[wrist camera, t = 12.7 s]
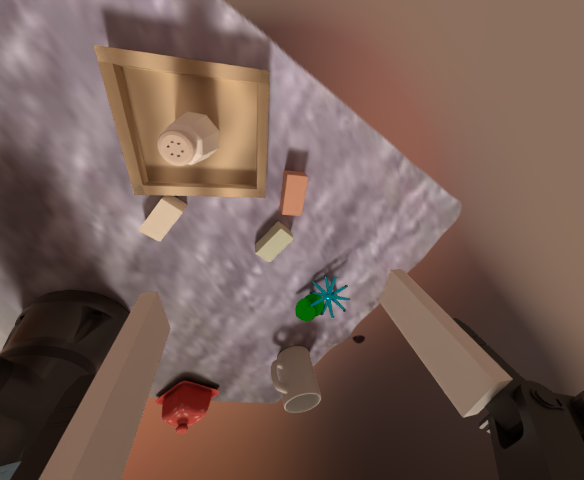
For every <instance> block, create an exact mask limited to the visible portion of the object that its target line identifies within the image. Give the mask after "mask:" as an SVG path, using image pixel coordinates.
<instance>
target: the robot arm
mask: <svg viewBox="0 0 584 480" xmlns="http://www.w3.org/2000/svg"><path fill="white" fill-rule="evenodd" d="M380 303H381V304H382V306H383V307H384V309H385V310H386V312H387V313H388V314H389V316H390V317H391V319H392V320H393V321H394V323H395V324H396V325H397V327H398V328H399V330H400V331H401V332H402V334H403V335H404V337H405V338H406V339H407V341H408V342H409V344H410V345H411V346H412V348H413V349H414V350H415V352H416V353H417V355H418V356H419V357H420V358H421V360H422V362H423V363H424V364H425V366H426V367H427V368H428V370H429V371H430V372H431V374H432V375H433V377H434V378H435V380H436V381H437V382H438V384H439V385H440V387H441V388H442V389H443V391H444V392H445V393H446V395H447V396H448V398H449V399H450V400H451V402H452V403H453V404H454V406H455V407H456V409H457V410H458V411H459V413H460V414H461V416H462V417H467V416H471V415H475V414H478V413H479V412H480V411H481V410H482V409H483V408H484V407H485V408H486V409H487V410H488V411H489V414H488V415H487V416H485V417H484V418H483V420H481V421H480V422H479V428H481V429H483V428H484V427H485V426H486V425H487V424H489V428H488V429H487V432H488V433H490V434H491V439H492V445H493V450H494V455H495V460H496V465H497V471H498V476H499V480H584V391H582V392H581V393H579V394H578V395H577V396H568V395H563V394H557V393H553V392H552V391H550V390H549V389H548V388H546V387H544V386H543V385H541V384H539V383H536V382H533V381H526V380H525V379H524V378H522V377H521V376H520V375H519V374H518V373H517V372H516V371H515V370H514V369H513V368H512V367H510V366H509V365H508V364H507V363H506V362H505V361H504V360H503V359H502V358H501V357H500V356H499V355H498V354H497V353H496V352H495V351H494V350H493V349H491V348H490V347H489V346H488V345H486V343H485V342H484V341H483V340H482V339H481V338H480V337H478V335H477V334H476V333H475V332H474V331H473V330H472V329H471V328H470V327H468V326H467V325H466V324H464V323H463V322H461V321H460V320H458V319H456V318H454V319H452V318H451V317H450V316H449V315H448V314H447V313H446V312H445V311H444V310H443V309H442V308H441V307H439V305H438V304H437V303H436V302H434V300H432V298H430V296H429V295H427V294H426V293H425V292H424V291H423V290H422V289H421V288H420V287H419V286H418V285H417V284H416V283H415V282H414V281H413V280H412V279H411V278H410V277H409V276H408V275H407V274H406V273H405V272H404V271H403V270H402V269H396V270H391V271H390V274H389V276H388V279H387V282H386V285H385V288H384V291H383V294H382V297H381V300H380ZM169 331H170V325H169V322H168V320H167V317H166V314H165V311H164V308H163V305H162V302H161V300H160V297H159V294H158V292H151V293H141V294H140V296H139V298H138V300H137V301H136V303H135V305H134V307H133V309H132V310H131V312H130V314H129V313H128V312H127V311H126V310H125V309H124V308H123V307H122V306H121V305H119V304H118V303H116V302H115V301H113V300H111V299H109V298H106V297H104V296H101V295H98V294H94V293H89V292H83V291H59V292H53V293H49V294H46V295H44V296H41V297H39V298H38V299H36V300H35V301H34V302H33V303H31V304H30V305H29V306H28V307H27V308H26V309H25V310H24V311H23V312H22V313H21V314H20V315H19V317H18V319H17V321H16V323H15V326H14V328H13V329H12V331H11V333H10V335H9V337H8V339H7V341H6V343H5V345H4V347H3V349H2V351H1V352H0V480H121V479H122V475H123V472H124V469H125V466H126V463H127V460H128V457H129V454H130V451H131V448H132V445H133V442H134V438H135V436H136V432H137V429H138V426H139V423H140V420H141V417H142V414H143V411H144V408H145V405H146V402H147V399H148V396H149V393H150V389H151V386H152V383H153V380H154V377H155V374H156V371H157V368H158V365H159V362H160V359H161V356H162V353H163V350H164V346H165V343H166V340H167V337H168V334H169Z"/></svg>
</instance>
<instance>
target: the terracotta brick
mask: <svg viewBox="0 0 584 480" xmlns="http://www.w3.org/2000/svg"><path fill="white" fill-rule="evenodd" d="M307 181H308V176H307V175H306V174H305V173H304V172H298V171H289V170H284V176H283V184H282V192H281V200H280V210H281V213H282V215H296V216H301V215H302V209H303V204H304V198H305V192H306V187H307Z"/></svg>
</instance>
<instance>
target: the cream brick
mask: <svg viewBox="0 0 584 480" xmlns="http://www.w3.org/2000/svg"><path fill="white" fill-rule="evenodd" d="M186 206H187V204H186V203H184V202H183V201H181V200H180V199H178V198H176V197H175V196H169V195H164V196H163V197H162V199H161V200H160V201H159V203H158V204H157V205H156V207H155V208H154V210H153V211H152V212H151V214H150V215H149V216H148V218H147V219H146V220H145V222H144V223H143V225H142V226H141V227H140V229H139V230H138V231H140V232H142V233H144V234H146V235H147V236H149V237H151V238H153V239H155V240H157V241H159V242H160V241H161V240H162V239H163V237H164V236H165V235H166V233H167V232H168V231H169V230H170V228H171V227H172V226H173V224H174V223H175V222H176V221H177V219H178V218H179V217H180V215H181V214H182V213H183V211H184V210H185V208H186Z"/></svg>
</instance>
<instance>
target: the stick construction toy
mask: <svg viewBox="0 0 584 480" xmlns="http://www.w3.org/2000/svg"><path fill="white" fill-rule="evenodd" d="M324 277H325V282H326V288H327V292H326V291H325V290H324V289H322V288H321V287H320V286H319V285H318V284H317V283H316V282H315V281H313V284H314V285H315V286H316V287H317V288H318V289H319V290H320V291H321V292H322V293H317V292H310V294H309V295H307V296H306V297H305V298H303V299H301V300H299V302H298V303H297V305H296V316H297V317H298V318H299V319H301V320H303V321H310V320H312V319H314V318H315V317H316V316H318V315H320V314H321V315H323V314H324V312H325V310H326V308H327V306H328V307H329V311H330V315H331V318H334V316H333V311H332V305H331V300H332V301H333V302H334V303H336V304H337V305H338V306H339V307H340V308H341V309H342V310H343V311H344V312H345V311H346V309H345V308H344V307H343V306H342V305H341V304H340V303H339V302H338V301H337V300H336V299H340V300H350V298H345V297H340V296H337V293H339V292H340V291H342V290H344V289H345V288H347V287H348V285H345V286H344V287H342V288H340V289H338V290H336V291H334V292H332V290H333V287H334V284H335V281H336V279H337V277H334V279H333V281H332V283H331V286H329V282H328V279H327V276H326V275H324ZM321 296H323V297H321ZM324 300H326V302H325V305H324Z"/></svg>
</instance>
